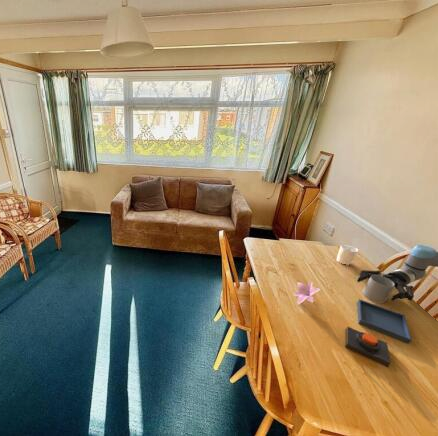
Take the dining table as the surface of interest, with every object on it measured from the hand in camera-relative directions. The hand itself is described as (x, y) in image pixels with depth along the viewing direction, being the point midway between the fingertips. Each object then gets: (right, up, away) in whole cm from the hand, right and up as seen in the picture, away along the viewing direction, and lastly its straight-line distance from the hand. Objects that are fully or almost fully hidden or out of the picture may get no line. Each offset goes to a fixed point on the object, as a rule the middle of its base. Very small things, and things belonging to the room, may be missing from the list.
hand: (375, 288), depth 109 cm
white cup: (+10, +7, +29) cm, 32 cm away
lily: (-33, -6, +2) cm, 34 cm away
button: (-25, -13, -22) cm, 36 cm away
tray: (-8, -11, -10) cm, 17 cm away
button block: (-25, -16, -21) cm, 36 cm away
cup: (+3, -5, +3) cm, 7 cm away
